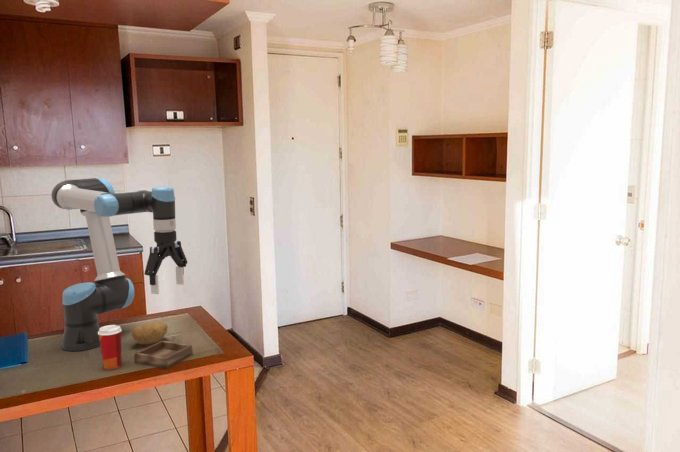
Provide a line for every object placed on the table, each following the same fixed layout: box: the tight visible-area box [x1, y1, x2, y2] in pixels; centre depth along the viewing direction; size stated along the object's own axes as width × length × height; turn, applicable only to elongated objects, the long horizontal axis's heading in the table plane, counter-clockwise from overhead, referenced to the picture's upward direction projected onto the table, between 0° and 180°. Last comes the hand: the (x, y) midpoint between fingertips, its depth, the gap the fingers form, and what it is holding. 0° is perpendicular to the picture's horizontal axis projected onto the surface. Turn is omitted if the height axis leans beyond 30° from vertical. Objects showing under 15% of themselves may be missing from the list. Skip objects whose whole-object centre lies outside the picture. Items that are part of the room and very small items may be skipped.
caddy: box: [134, 340, 193, 370], centre depth 196 cm, size 14×14×4 cm
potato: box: [131, 321, 169, 346], centre depth 212 cm, size 10×14×8 cm
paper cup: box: [98, 324, 123, 371], centre depth 189 cm, size 8×8×14 cm
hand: (168, 288), depth 196 cm, fingers open, 13 cm apart
